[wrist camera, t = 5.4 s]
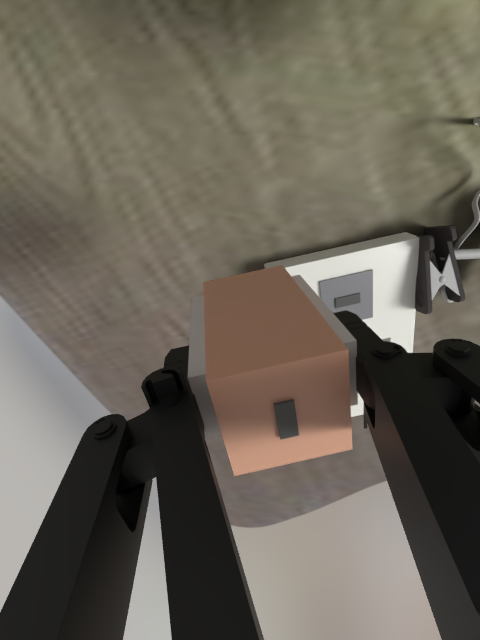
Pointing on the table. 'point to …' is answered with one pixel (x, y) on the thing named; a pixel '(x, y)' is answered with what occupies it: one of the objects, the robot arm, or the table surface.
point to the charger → (274, 372)
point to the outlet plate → (366, 285)
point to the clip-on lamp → (443, 261)
